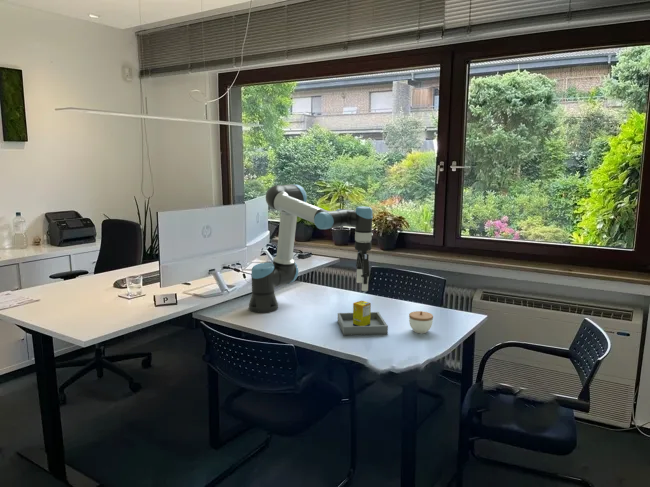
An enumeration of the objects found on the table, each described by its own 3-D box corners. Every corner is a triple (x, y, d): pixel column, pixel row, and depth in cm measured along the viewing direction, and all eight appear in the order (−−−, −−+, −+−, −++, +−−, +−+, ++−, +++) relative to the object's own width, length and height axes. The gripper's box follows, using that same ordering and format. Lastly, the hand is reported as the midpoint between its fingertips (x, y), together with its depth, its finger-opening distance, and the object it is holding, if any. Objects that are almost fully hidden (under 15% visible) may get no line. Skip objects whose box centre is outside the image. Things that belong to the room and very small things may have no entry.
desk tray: (337, 321, 237) (337, 313, 236) (378, 319, 239) (378, 311, 238) (343, 335, 217) (343, 327, 217) (387, 334, 219) (387, 325, 219)
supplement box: (361, 322, 232) (361, 300, 230) (370, 325, 228) (371, 302, 226) (352, 325, 228) (352, 302, 226) (362, 328, 224) (362, 305, 222)
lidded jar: (427, 336, 217) (428, 316, 215) (404, 332, 222) (405, 312, 221) (435, 329, 226) (436, 310, 224) (413, 325, 231) (414, 306, 230)
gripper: (377, 246, 209) (375, 294, 213) (366, 236, 234) (365, 279, 237) (359, 246, 208) (358, 294, 212) (350, 236, 233) (349, 279, 237)
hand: (362, 286), depth 225 cm, fingers open, 13 cm apart
